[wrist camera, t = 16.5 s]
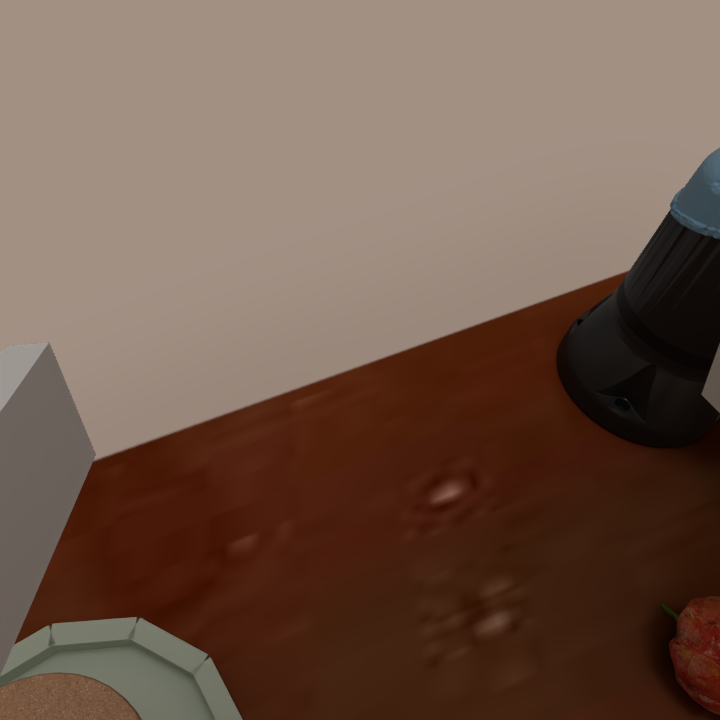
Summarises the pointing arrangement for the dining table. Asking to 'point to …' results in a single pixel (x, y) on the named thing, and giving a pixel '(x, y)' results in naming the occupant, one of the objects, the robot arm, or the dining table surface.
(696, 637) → the pomegranate
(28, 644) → the rimmed tray
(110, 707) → the lidded jar
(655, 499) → the dining table surface
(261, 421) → the dining table surface
